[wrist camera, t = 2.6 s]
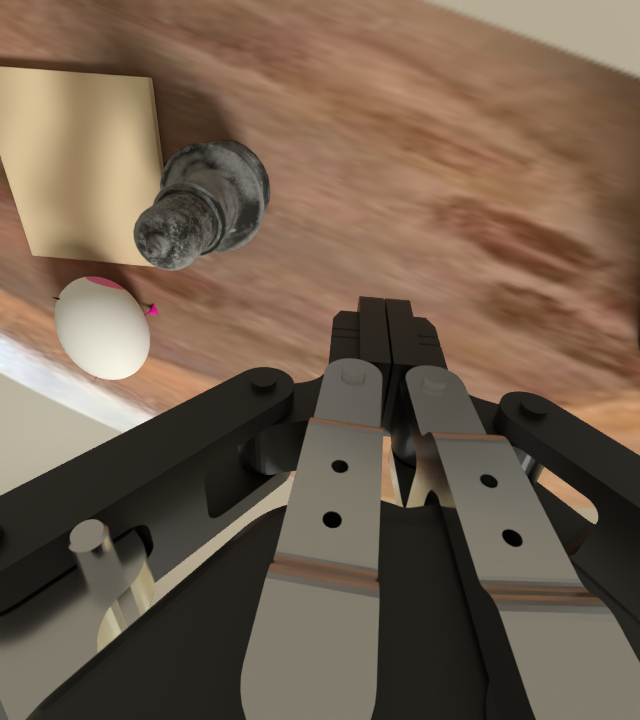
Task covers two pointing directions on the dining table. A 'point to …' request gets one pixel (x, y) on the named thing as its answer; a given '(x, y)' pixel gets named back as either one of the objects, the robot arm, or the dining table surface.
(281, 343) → the dining table surface
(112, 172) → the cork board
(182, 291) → the dining table surface
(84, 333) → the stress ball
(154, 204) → the grey chess piece
